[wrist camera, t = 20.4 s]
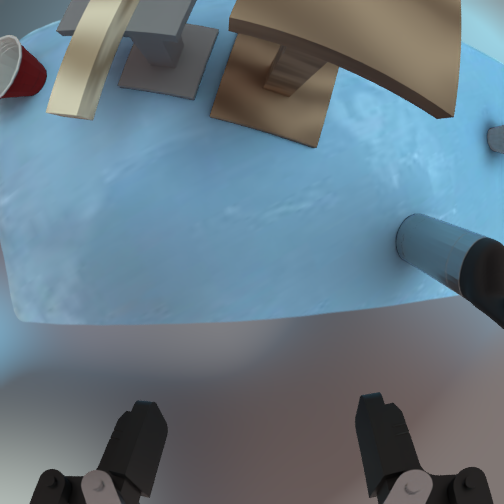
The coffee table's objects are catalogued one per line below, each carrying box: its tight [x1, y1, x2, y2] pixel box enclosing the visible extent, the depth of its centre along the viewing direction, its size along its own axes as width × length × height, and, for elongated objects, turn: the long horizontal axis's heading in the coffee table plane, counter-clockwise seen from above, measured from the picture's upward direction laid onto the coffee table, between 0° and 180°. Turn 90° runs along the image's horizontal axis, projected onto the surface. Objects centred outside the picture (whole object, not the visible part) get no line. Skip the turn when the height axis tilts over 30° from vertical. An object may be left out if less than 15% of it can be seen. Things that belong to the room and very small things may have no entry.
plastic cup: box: [0, 35, 47, 99], centre depth 28 cm, size 11×11×12 cm
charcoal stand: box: [56, 0, 219, 100], centre depth 26 cm, size 12×12×22 cm
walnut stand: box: [210, 0, 461, 148], centre depth 24 cm, size 16×16×32 cm
